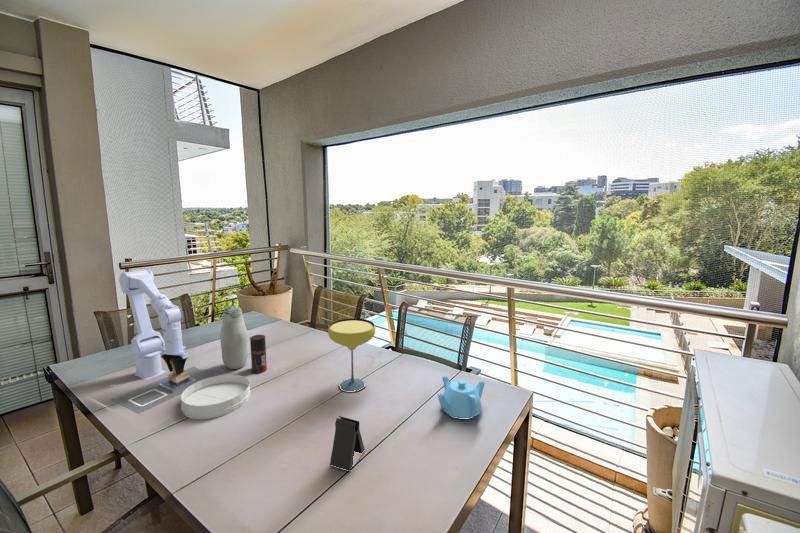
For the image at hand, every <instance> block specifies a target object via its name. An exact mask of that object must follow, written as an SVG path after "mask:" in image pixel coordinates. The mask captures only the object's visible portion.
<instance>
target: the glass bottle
mask: <svg viewBox="0 0 800 533" xmlns="http://www.w3.org/2000/svg"><path fill="white" fill-rule="evenodd" d="M221 323H222V324H221V327H220V333H219V334H220V335H219V336H220V350H221V358H222V362H223V364H224V366H225V367H226V368H227V369H230V370H238V369H241V368H243V367H244V366H245V365H246V364H247V362H248V358H249V346H248V345H249V344H248V341H249V340H248V331H247V330H248V329H247V327H246V323H245V320H244V317H243V310H242V308H241V307H240V306H238V305H229V306H225V308H224V309H223V312H222V321H221Z"/></svg>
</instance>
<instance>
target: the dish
mask: <svg viewBox="0 0 800 533" xmlns="http://www.w3.org/2000/svg"><path fill="white" fill-rule="evenodd" d="M250 398H251V387H250V381H249V379H248V378H247V377H245V376H243V375H240V374H222V375H219V376H214V377H210V378H207V379H204V380H201V381H199V382H196V383H194V384H192V385H191V386H189V387H188V388H187V389H186V390H184V391H183V393H182V394H180V400H181V403H180V409H181V413H182V414H183V415H184V416H185V417H187V418H190V419H194V420H207V419H214V418H219V417H223V416H225V415H228V414H231V413H233V412H235V411H236V410H238V409H240V408H242V407H243V406H245V405H246V404H247V403H248V402H249V399H250Z"/></svg>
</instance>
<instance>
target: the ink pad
mask: <svg viewBox="0 0 800 533" xmlns="http://www.w3.org/2000/svg"><path fill="white" fill-rule="evenodd" d="M194 383H196V379H193V378H189V379H187V380H185V381H183V382H181V383H179V384H175V383H172V382H170V381H169V380H168V381H165V382H163V383H160V384H159V387H160V388H162V389H164V390H167V391H169V392H172V393H174V392H176V391H178V390H180V389H183V388H185V387H187V386H189V385H192V384H194Z"/></svg>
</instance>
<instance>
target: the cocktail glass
mask: <svg viewBox="0 0 800 533" xmlns="http://www.w3.org/2000/svg"><path fill="white" fill-rule="evenodd" d="M375 334H376V325H375V323H374V322H373V321H371V320H368V319H366V318H365V319H363V318H342V319H338V320H335V321H333V322H331V323H330V324H329V325H328V327H327V335H328V337H329V339H330V340H331V341H332V342H334V343H336V344H338V345H341V346H344V347H346V348H347V349H348V350H349V351H350V352H351V353H350V354H351V370H350V371H351V376H350V378H347V379H348V380H346V379H344V380H345V381H344V380H342V381H343V382H342V381H341V382H342V383H341V382H340V383H341V384H340V383H339V384H340V386H341V389H343V390H345V391H354V390H356V391H357V390H359V389H361V388H363V387H364V382H363V381H364V380H363V379H361V380H360V378H356V379H354V351H355V350H356V349H357V348H358V347H359V346H361V345H363V344H366V343H368V342H369V341H371V340H372V339H373V338H374V336H376V335H375ZM362 380H363V381H362Z"/></svg>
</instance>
